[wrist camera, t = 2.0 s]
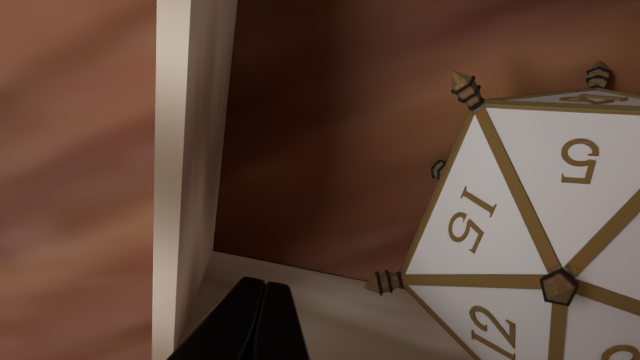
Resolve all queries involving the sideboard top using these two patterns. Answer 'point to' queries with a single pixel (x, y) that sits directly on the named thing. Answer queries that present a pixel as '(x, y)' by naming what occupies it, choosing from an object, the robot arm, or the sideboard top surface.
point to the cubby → (201, 207)
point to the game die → (534, 227)
